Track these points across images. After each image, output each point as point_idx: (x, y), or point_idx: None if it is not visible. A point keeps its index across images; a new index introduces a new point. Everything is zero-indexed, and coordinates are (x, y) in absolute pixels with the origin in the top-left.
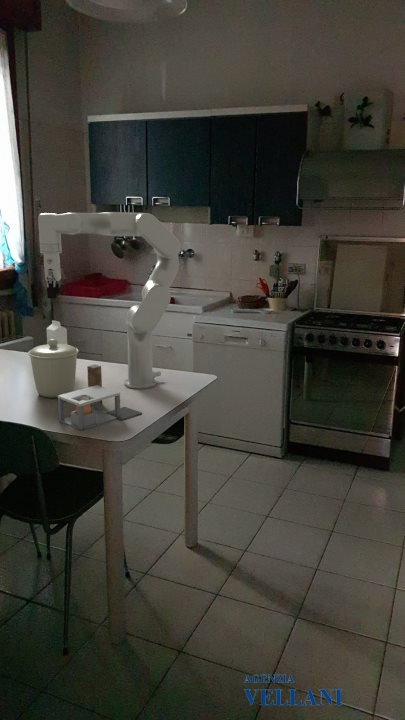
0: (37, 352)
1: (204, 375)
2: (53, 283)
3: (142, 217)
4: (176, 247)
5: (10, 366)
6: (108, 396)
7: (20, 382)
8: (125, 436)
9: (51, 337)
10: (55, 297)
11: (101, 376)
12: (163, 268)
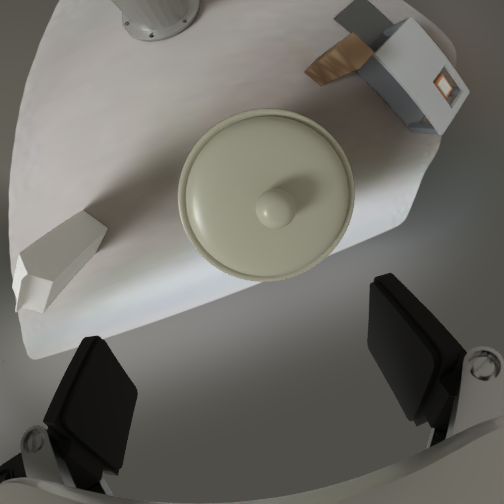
0: (332, 238)
1: None
2: (93, 459)
3: None
4: None
5: (90, 335)
6: (430, 39)
7: (181, 284)
8: (445, 36)
9: (60, 282)
10: (392, 282)
11: (341, 40)
12: None
